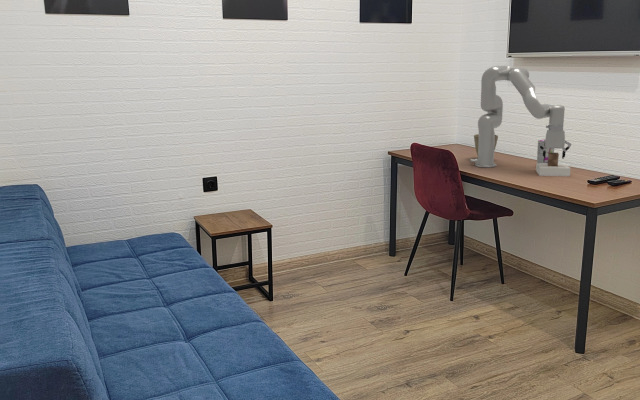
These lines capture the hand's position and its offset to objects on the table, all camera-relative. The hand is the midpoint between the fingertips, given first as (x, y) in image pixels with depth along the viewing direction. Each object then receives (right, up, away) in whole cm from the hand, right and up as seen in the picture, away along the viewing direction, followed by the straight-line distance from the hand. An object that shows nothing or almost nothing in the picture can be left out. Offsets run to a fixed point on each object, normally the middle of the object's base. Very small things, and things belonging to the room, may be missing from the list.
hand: (553, 158), depth 329 cm
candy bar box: (+3, -4, +22) cm, 22 cm away
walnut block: (0, -4, +1) cm, 4 cm away
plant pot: (-25, +2, +47) cm, 54 cm away
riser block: (0, -9, +2) cm, 9 cm away
